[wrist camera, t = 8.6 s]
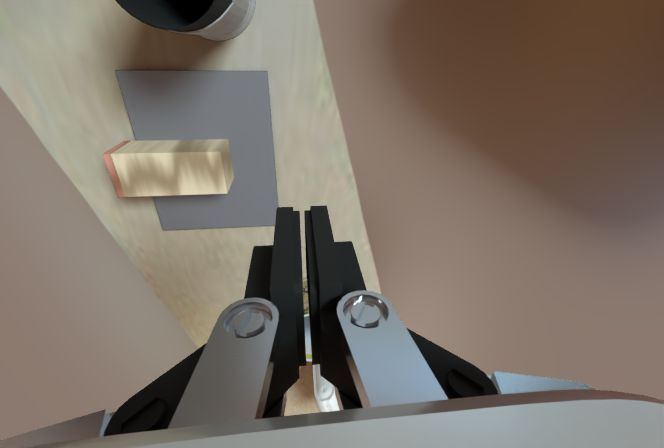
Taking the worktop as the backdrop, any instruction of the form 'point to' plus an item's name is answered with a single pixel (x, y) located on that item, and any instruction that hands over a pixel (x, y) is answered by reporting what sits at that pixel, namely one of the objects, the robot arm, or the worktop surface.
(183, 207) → the rubber mat
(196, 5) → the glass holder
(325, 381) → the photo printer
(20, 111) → the worktop surface
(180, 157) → the maple block
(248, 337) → the robot arm
